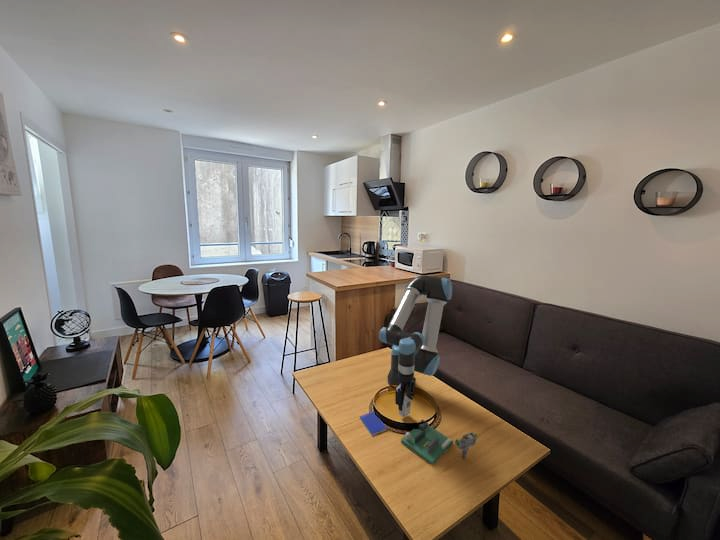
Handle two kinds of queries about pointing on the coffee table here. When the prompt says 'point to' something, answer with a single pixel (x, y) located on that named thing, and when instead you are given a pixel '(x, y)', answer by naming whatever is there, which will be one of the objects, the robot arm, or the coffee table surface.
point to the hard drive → (373, 423)
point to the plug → (406, 406)
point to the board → (429, 436)
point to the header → (432, 444)
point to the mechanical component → (466, 443)
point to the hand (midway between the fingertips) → (404, 412)
